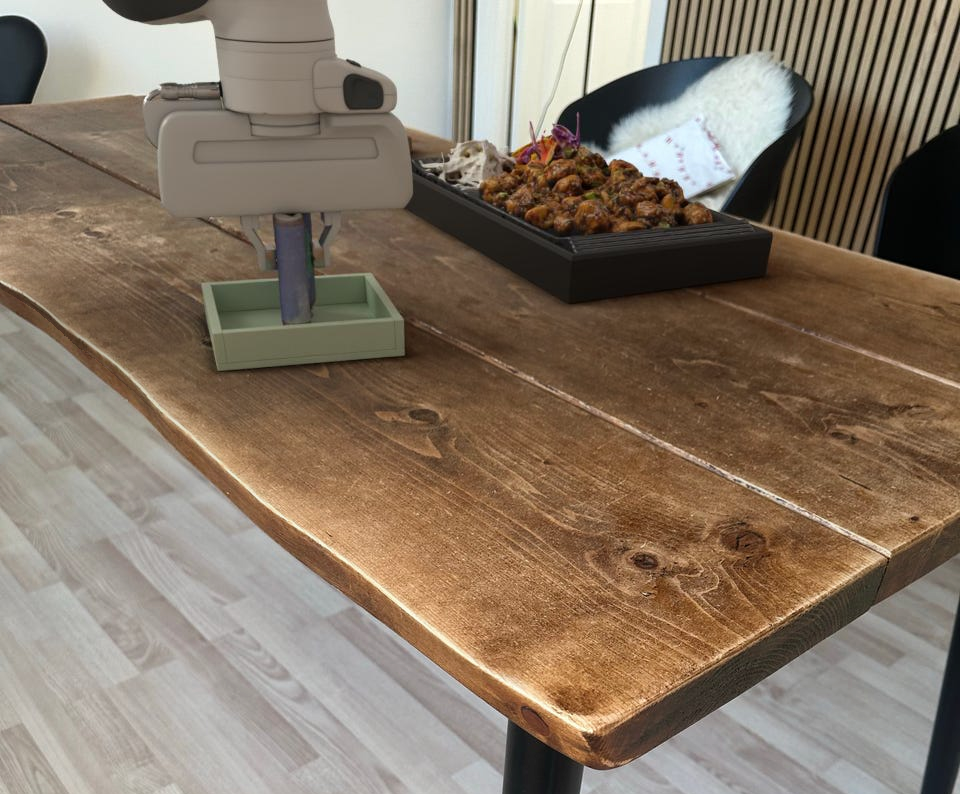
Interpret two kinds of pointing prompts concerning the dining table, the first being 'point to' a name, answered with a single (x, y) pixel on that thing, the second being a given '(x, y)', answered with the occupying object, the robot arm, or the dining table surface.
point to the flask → (294, 267)
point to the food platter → (582, 219)
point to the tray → (330, 337)
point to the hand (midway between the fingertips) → (295, 267)
